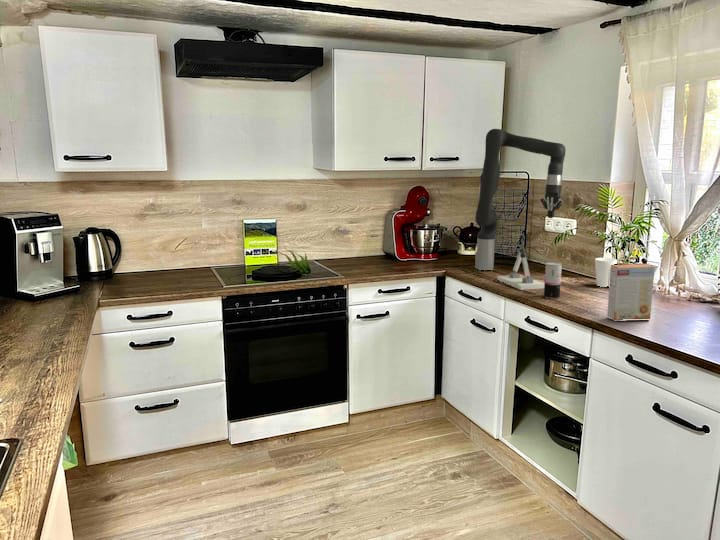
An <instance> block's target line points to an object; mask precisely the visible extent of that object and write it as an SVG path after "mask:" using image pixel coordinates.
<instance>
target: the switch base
mask: <svg viewBox="0 0 720 540" xmlns="http://www.w3.org/2000/svg"><path fill="white" fill-rule="evenodd" d="M496 279H497V281H498V280H499V282H501V283H503V282H504V283H503V284H505V283H506V285H508V286H510V285H511V286H510V287H513V288H515V289H518V290H519V291H524V290H537V289H538V290H539V289H544V286H545V282H542V281H539V280H537V279H534V278H532V277H530V278H527V277H525V275H523V274H520V273H518V272H517V273H514V272H509V274H508V275H497V278H496Z"/></svg>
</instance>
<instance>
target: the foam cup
mask: <svg viewBox="0 0 720 540" xmlns="http://www.w3.org/2000/svg"><path fill="white" fill-rule="evenodd" d="M614 264H617V265H618V260H617V259H616V258H613V257H596V258H595V259H594V265H595V281H596V283H595V284H596V287H597V286H600V287H599V288H601V287H607V286H608V272H609V271H608V270H609V269H610V266H611V265H614Z"/></svg>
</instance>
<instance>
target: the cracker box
mask: <svg viewBox="0 0 720 540" xmlns="http://www.w3.org/2000/svg"><path fill="white" fill-rule="evenodd" d="M654 276H655V266H653V265H650V264H647V263H641V264H640V263H639V264H638V263H636V264H632V263H631V264H617V265H611V268H610V282H609V288H608V301H607V310H606V311H607V313H606V317H607V316H608V317H610V318H612V319H613V320H623V319H650V320H651V314H652V304H653V303H652V301H653V292H654V291H653V289H654V279H655V277H654Z"/></svg>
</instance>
